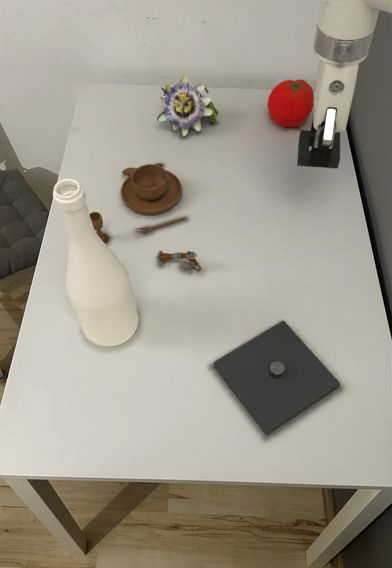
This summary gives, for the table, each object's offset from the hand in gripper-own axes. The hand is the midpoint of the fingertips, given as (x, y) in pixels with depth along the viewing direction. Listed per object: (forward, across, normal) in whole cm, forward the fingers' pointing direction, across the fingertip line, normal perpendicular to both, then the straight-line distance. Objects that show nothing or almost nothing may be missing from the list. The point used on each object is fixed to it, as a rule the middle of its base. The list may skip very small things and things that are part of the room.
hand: (318, 149), depth 83 cm
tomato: (+15, +28, +4) cm, 32 cm away
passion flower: (+15, +24, +26) cm, 39 cm away
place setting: (+15, -1, +34) cm, 37 cm away
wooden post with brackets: (+15, -15, +22) cm, 31 cm away
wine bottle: (+15, -29, +31) cm, 45 cm away
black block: (+1, 0, 0) cm, 1 cm away
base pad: (+15, -36, +3) cm, 39 cm away
